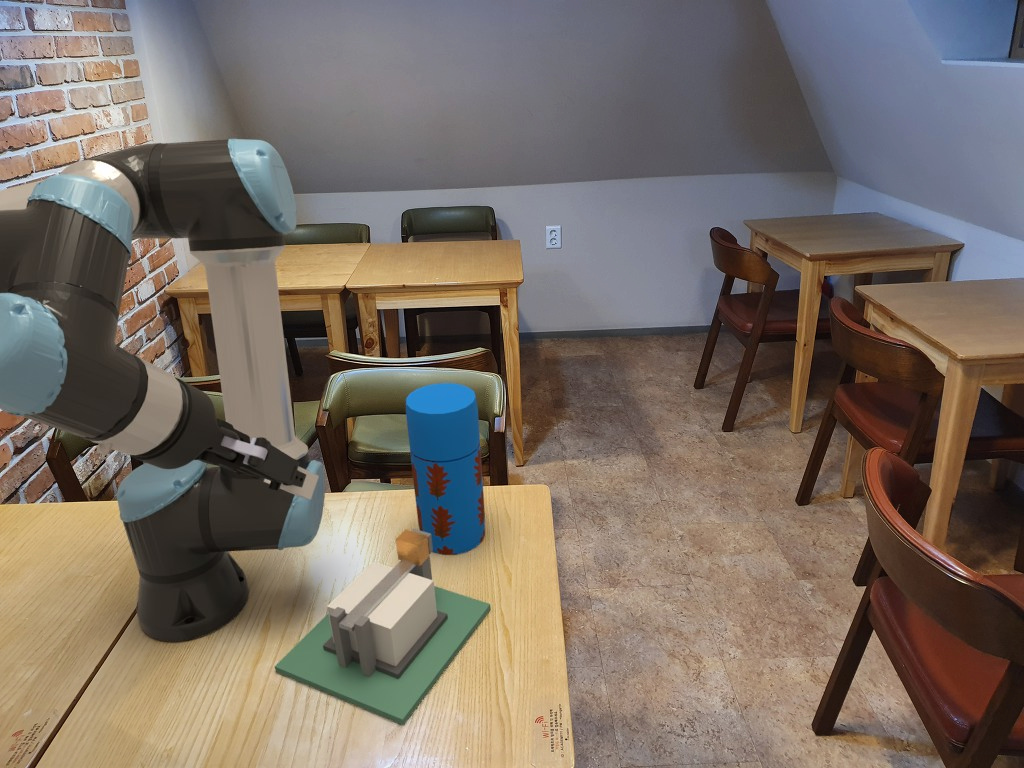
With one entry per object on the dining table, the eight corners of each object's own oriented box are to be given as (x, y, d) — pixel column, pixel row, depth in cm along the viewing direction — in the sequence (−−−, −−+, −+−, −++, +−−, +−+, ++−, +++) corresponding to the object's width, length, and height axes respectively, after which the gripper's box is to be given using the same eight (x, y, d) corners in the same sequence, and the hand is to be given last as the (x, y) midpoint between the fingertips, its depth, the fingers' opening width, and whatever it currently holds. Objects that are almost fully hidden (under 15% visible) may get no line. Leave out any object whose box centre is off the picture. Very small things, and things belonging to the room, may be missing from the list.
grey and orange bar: (334, 625, 96) (330, 602, 95) (408, 550, 110) (405, 529, 108) (357, 634, 95) (353, 610, 93) (429, 557, 108) (427, 535, 107)
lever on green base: (275, 672, 101) (260, 606, 96) (375, 572, 118) (367, 512, 114) (403, 725, 92) (393, 656, 87) (490, 609, 110) (486, 546, 105)
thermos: (476, 558, 120) (466, 416, 110) (411, 552, 122) (394, 412, 112) (492, 518, 130) (483, 384, 119) (431, 513, 132) (417, 380, 121)
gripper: (79, 444, 66) (252, 507, 87) (190, 471, 61) (346, 532, 81) (115, 365, 69) (275, 444, 89) (225, 384, 63) (369, 464, 84)
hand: (309, 486), depth 85 cm, fingers closed
